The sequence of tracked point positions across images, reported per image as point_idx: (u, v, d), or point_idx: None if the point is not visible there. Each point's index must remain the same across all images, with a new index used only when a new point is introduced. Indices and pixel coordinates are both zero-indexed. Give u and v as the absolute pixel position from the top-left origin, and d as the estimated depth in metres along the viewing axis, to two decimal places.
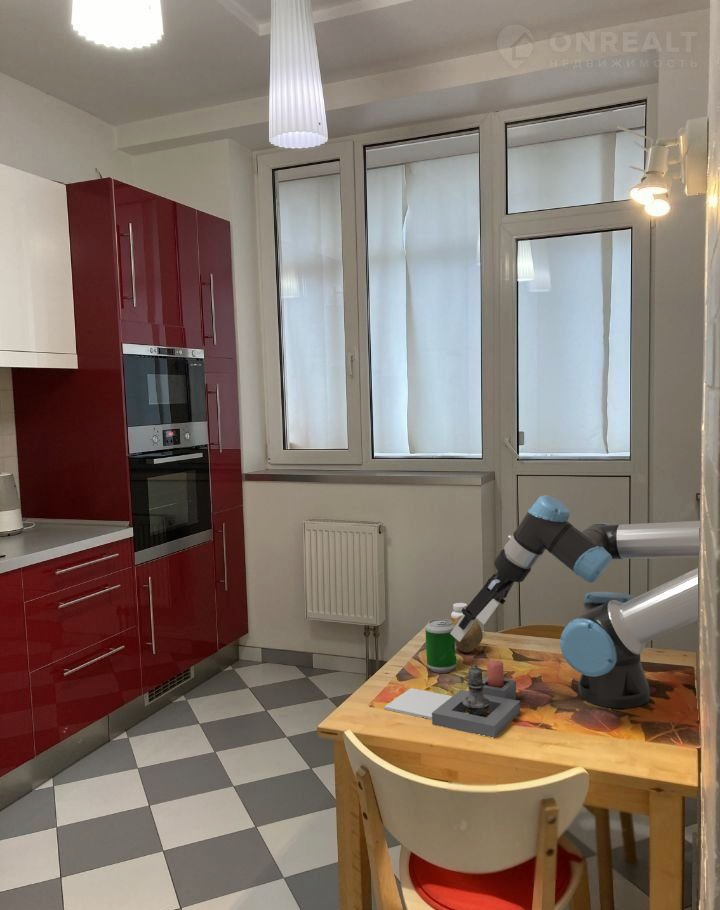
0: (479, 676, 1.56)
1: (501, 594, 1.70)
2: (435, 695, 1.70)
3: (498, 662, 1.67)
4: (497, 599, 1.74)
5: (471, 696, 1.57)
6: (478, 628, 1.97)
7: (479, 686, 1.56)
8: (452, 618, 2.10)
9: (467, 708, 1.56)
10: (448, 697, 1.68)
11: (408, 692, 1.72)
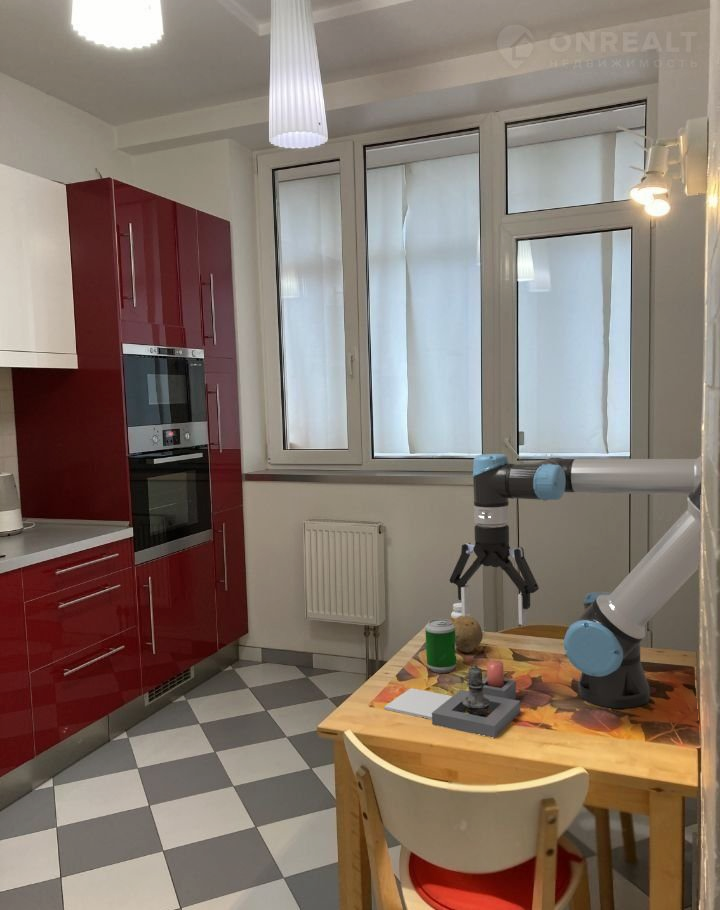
0: (479, 676, 1.56)
1: (474, 572, 1.68)
2: (435, 695, 1.70)
3: (498, 662, 1.67)
4: (464, 583, 1.69)
5: (471, 696, 1.57)
6: (478, 628, 1.97)
7: (479, 686, 1.56)
8: (452, 618, 2.10)
9: (467, 708, 1.56)
10: (448, 697, 1.68)
11: (408, 692, 1.72)
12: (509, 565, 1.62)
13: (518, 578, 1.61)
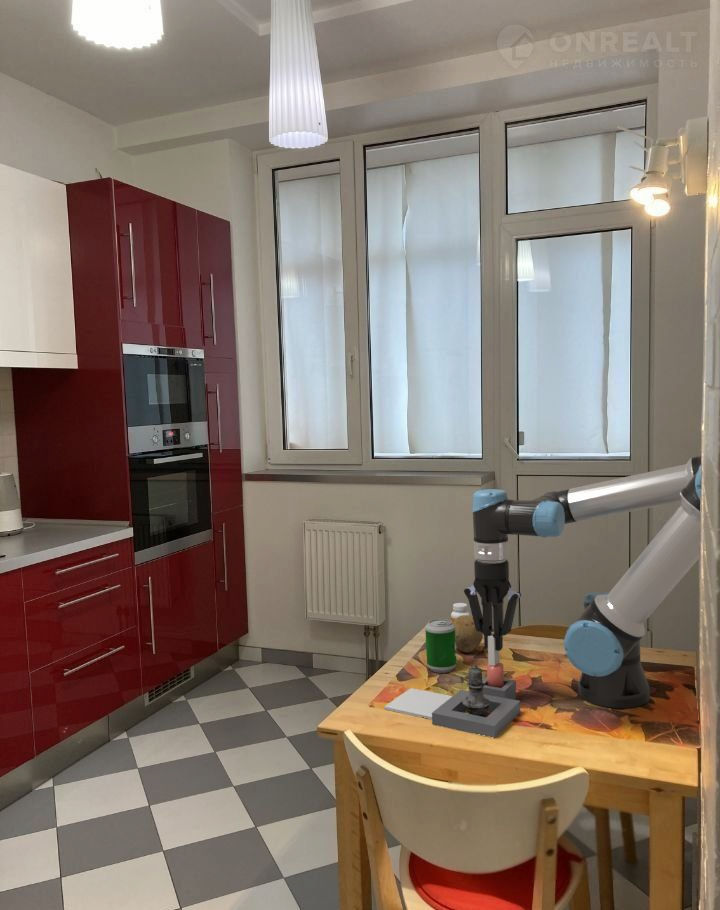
0: (479, 676, 1.56)
1: (491, 613, 1.67)
2: (435, 695, 1.70)
3: (498, 663, 1.67)
4: (490, 630, 1.67)
5: (471, 696, 1.57)
6: None
7: (479, 686, 1.56)
8: (452, 618, 2.10)
9: (467, 708, 1.56)
10: (448, 697, 1.68)
11: (408, 692, 1.72)
12: (500, 604, 1.64)
13: (499, 620, 1.64)
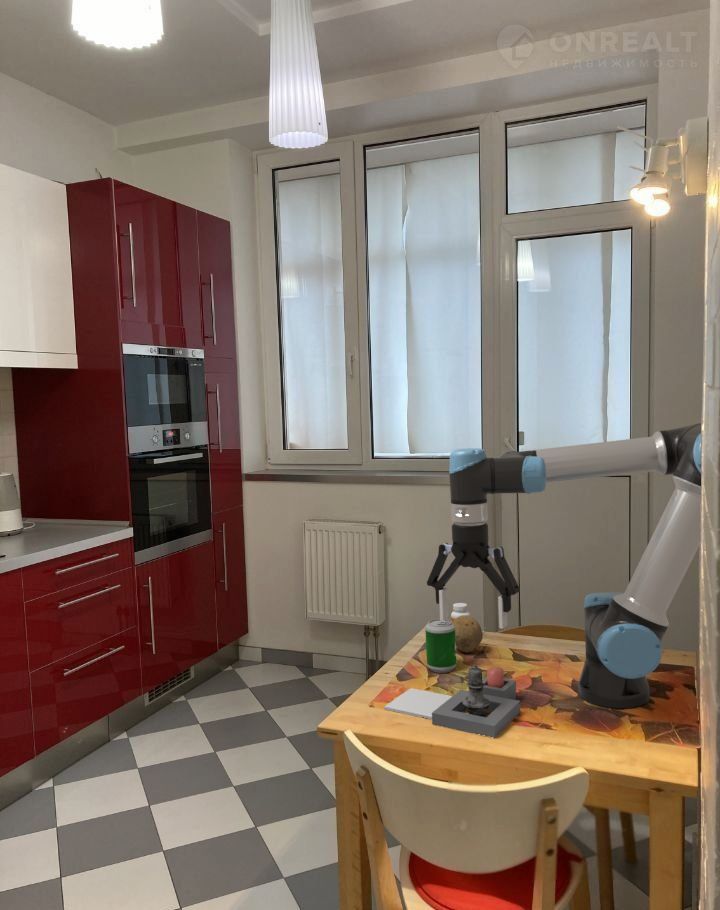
0: (479, 676, 1.56)
1: None
2: (435, 695, 1.70)
3: (498, 668, 1.67)
4: (442, 586, 1.60)
5: (471, 696, 1.57)
6: (478, 628, 1.97)
7: (479, 686, 1.56)
8: (452, 618, 2.10)
9: (467, 708, 1.56)
10: (448, 697, 1.68)
11: (408, 692, 1.72)
12: (488, 565, 1.54)
13: (498, 580, 1.52)
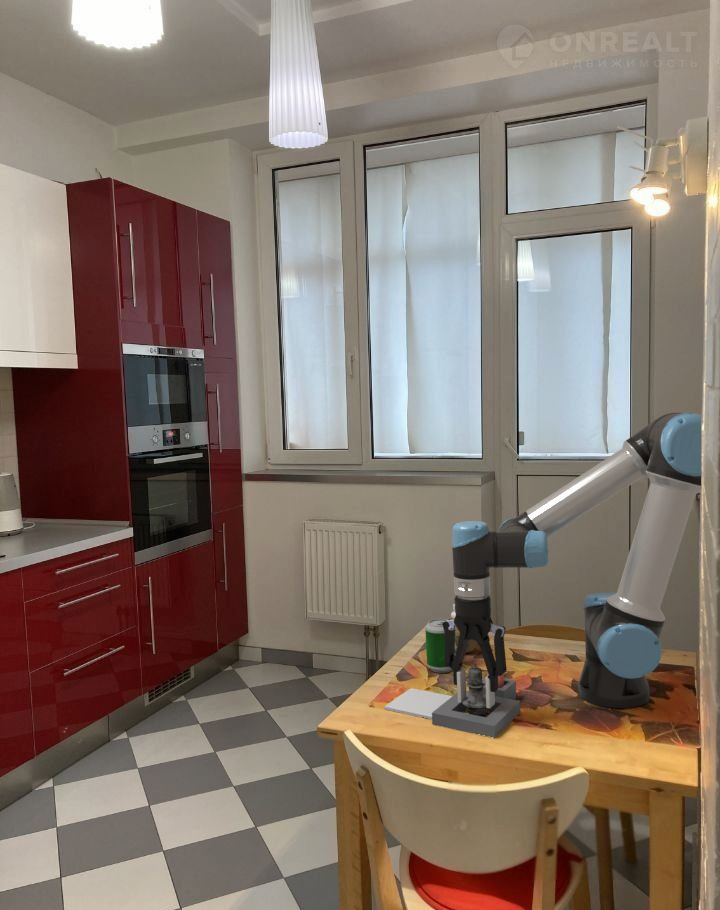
0: (479, 676, 1.56)
1: (465, 650, 1.59)
2: (435, 695, 1.70)
3: None
4: (460, 666, 1.60)
5: (470, 696, 1.57)
6: None
7: (479, 686, 1.56)
8: (452, 618, 2.10)
9: (467, 708, 1.56)
10: (448, 697, 1.68)
11: (408, 692, 1.72)
12: (486, 642, 1.55)
13: (490, 659, 1.55)
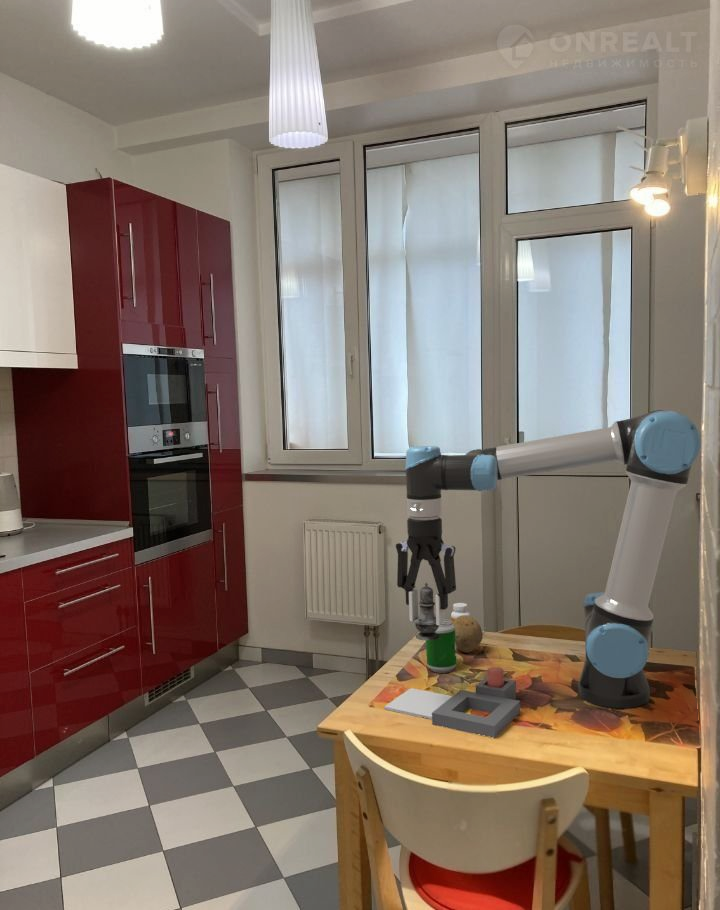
0: (429, 594, 1.62)
1: (417, 571, 1.65)
2: (435, 695, 1.70)
3: (498, 668, 1.67)
4: (412, 587, 1.65)
5: (421, 614, 1.62)
6: (478, 628, 1.97)
7: (430, 604, 1.62)
8: (452, 618, 2.10)
9: (418, 626, 1.62)
10: (448, 697, 1.68)
11: (408, 692, 1.72)
12: (437, 562, 1.61)
13: (441, 578, 1.60)
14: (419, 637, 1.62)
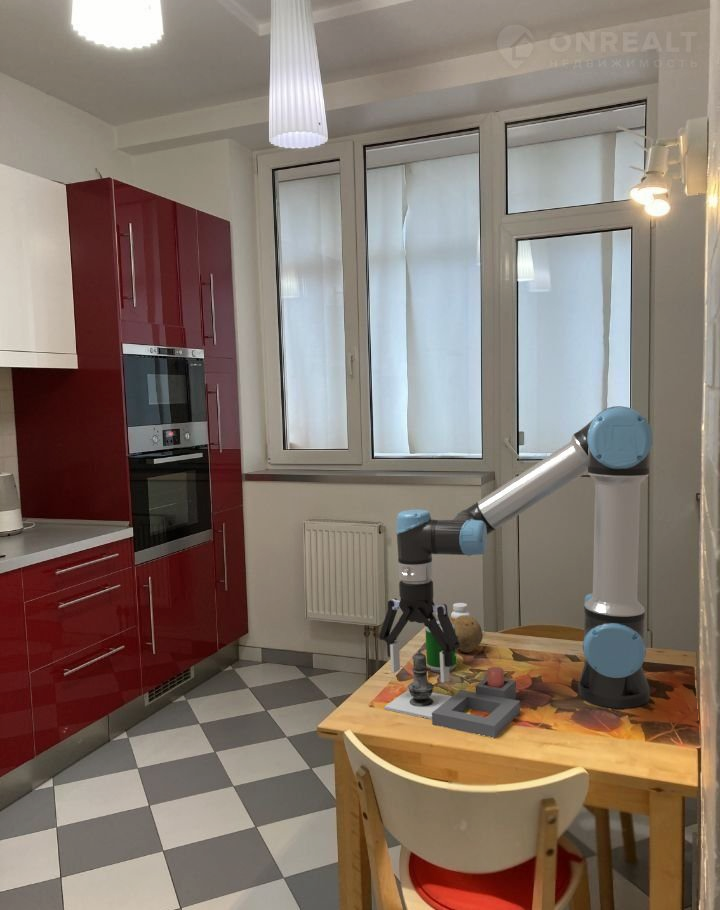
0: (422, 661, 1.65)
1: (402, 628, 1.69)
2: (435, 695, 1.70)
3: (498, 668, 1.67)
4: (394, 640, 1.70)
5: (415, 680, 1.65)
6: (478, 628, 1.97)
7: (423, 671, 1.65)
8: (452, 618, 2.10)
9: (411, 692, 1.65)
10: (448, 697, 1.68)
11: (408, 692, 1.72)
12: (432, 621, 1.63)
13: (441, 636, 1.62)
14: (413, 703, 1.65)
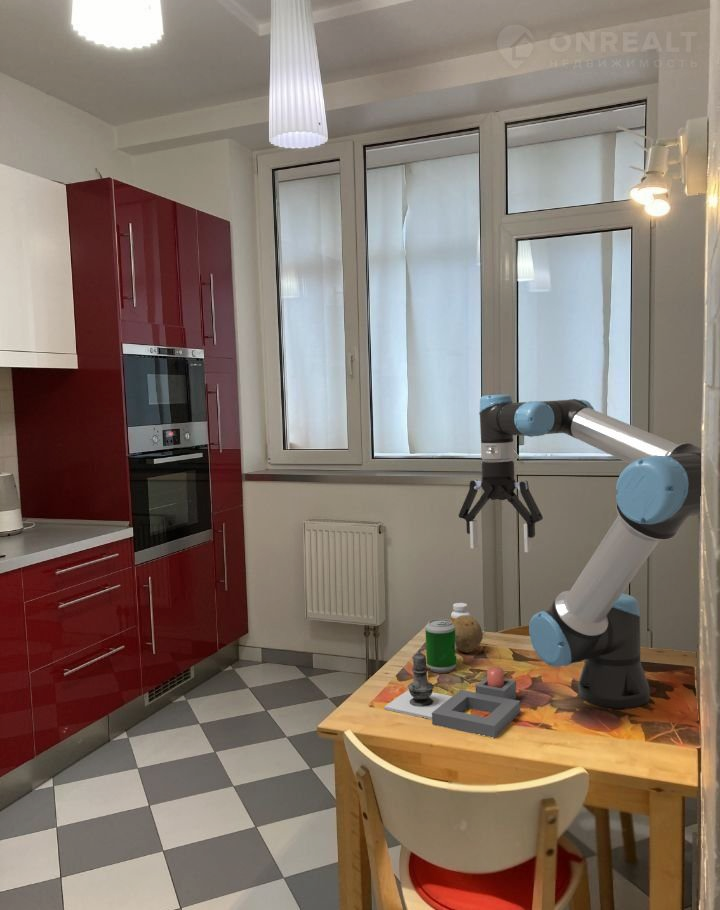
0: (422, 661, 1.65)
1: None
2: (435, 695, 1.70)
3: (498, 668, 1.67)
4: (472, 518, 1.80)
5: (415, 680, 1.65)
6: (478, 628, 1.97)
7: (423, 671, 1.65)
8: (452, 618, 2.10)
9: (411, 692, 1.65)
10: (448, 697, 1.68)
11: (408, 692, 1.72)
12: (515, 497, 1.74)
13: (523, 509, 1.72)
14: (413, 703, 1.65)
